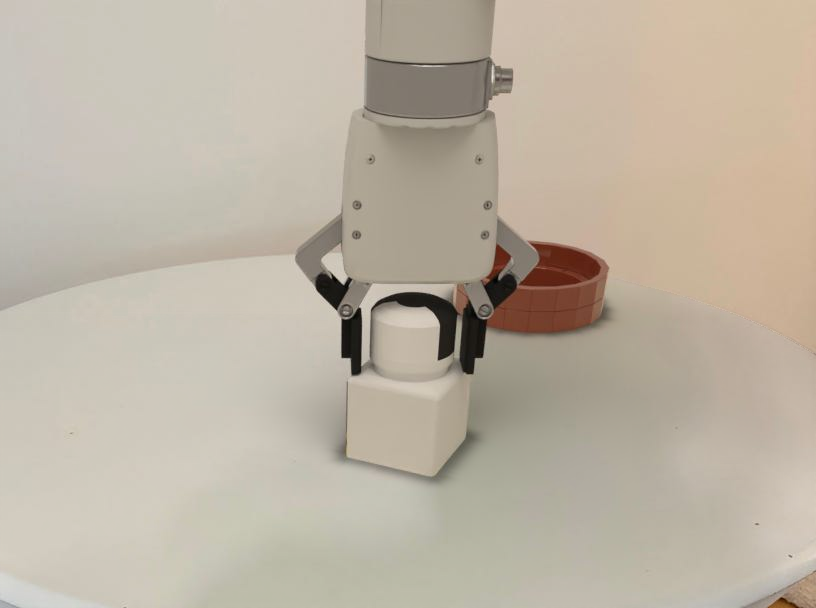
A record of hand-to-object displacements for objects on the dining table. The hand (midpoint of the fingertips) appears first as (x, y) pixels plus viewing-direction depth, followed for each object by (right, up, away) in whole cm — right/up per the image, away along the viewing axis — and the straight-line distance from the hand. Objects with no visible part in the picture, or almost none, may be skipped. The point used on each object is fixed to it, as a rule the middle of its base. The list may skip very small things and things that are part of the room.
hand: (410, 365), depth 71 cm
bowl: (+14, +13, +28) cm, 34 cm away
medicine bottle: (0, -6, +5) cm, 8 cm away
